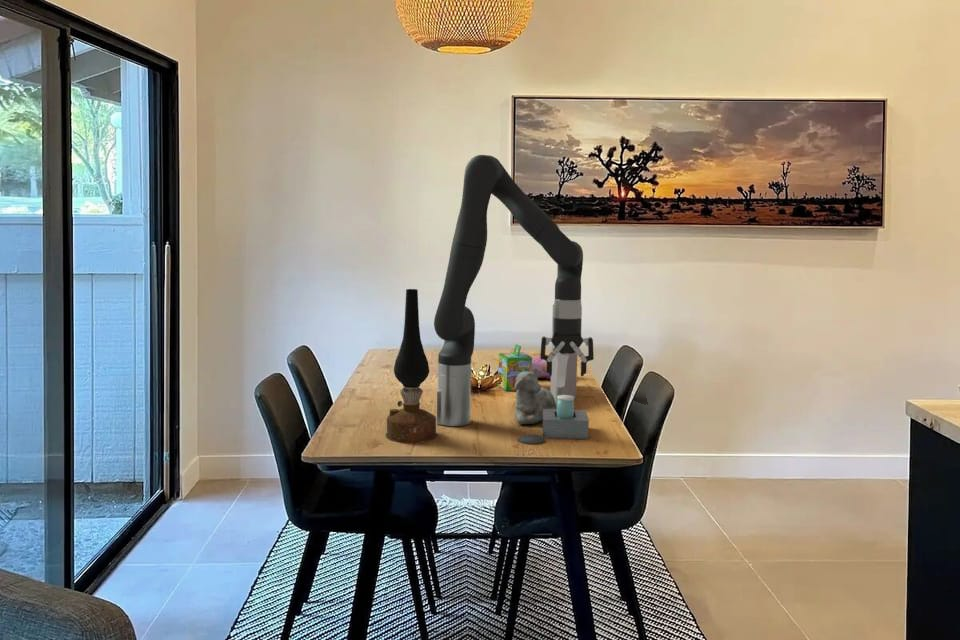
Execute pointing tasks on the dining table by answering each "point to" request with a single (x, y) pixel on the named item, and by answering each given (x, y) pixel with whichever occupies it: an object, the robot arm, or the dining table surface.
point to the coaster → (531, 439)
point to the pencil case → (540, 368)
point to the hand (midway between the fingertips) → (566, 375)
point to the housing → (565, 425)
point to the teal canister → (565, 406)
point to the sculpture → (531, 399)
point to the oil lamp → (411, 383)
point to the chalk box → (512, 367)
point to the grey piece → (563, 373)
